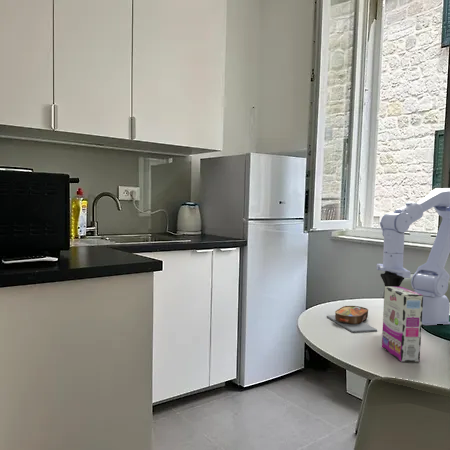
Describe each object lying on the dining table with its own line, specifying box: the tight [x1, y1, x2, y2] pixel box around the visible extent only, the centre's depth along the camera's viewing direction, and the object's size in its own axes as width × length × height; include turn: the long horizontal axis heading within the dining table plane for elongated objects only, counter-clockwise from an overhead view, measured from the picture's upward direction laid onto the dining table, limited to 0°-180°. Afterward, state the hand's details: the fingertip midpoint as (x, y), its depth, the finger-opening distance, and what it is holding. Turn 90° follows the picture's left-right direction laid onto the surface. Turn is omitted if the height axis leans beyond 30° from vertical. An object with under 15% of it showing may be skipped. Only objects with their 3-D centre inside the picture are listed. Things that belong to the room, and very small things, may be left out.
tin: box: [334, 305, 369, 324], centre depth 141 cm, size 15×3×8 cm
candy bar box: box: [381, 286, 423, 363], centre depth 109 cm, size 11×5×16 cm, turn 5°
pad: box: [326, 314, 378, 334], centre depth 136 cm, size 8×17×1 cm, turn 13°
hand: (391, 297), depth 132 cm, fingers closed
